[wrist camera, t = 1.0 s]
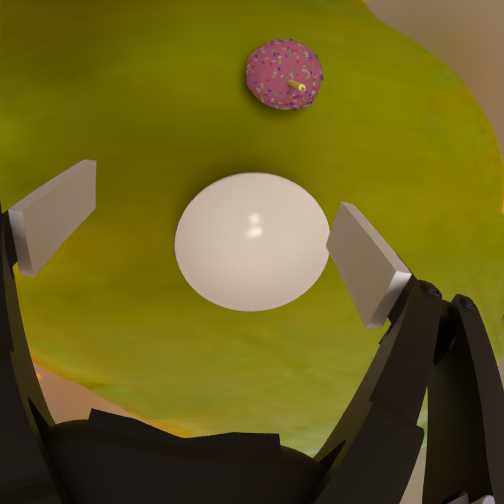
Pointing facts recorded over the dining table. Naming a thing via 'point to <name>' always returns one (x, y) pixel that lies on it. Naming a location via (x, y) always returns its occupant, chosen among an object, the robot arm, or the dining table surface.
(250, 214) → the cake stand
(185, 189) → the dining table surface
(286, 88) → the cupcake
